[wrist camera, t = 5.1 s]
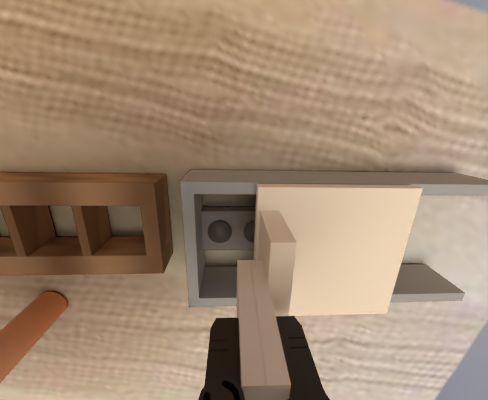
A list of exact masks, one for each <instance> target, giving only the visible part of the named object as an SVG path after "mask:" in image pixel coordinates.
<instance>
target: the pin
mask: <svg viewBox="0 0 488 400" xmlns="http://www.w3.org/2000/svg"><path fill="white" fill-rule="evenodd" d="M66 308H67V302H66V300H65V298H64V297H63V296H61V295H60V294H58V293H55V292H44V293H42V294H40V295H39V296H38V297H37V298H36V299H35V300H34V301H33V302H32V303H30V304H29V305H28V306H27V307H26V308H25V309H24V310H23V311H22V312H21V313H19V314H18V315H17V316H16V317H15V318H14V319H13V320H12V321H11V322H9V323H8V324H7V325H6V326H5V327H4V328H3V329H2V330H1V331H0V383H1V382H2V381H3V379H4V378H5V377H6V376H7V375H8V374H9V373H10V371H11V370H12V369H13V368H14V367H15V366H16V365H17V364H18V362H19V361H20V360H21V359H22V358H23V357H24V356H25V355H26V353H27V352H28V351H29V350H30V349H31V348H32V347H33V346H34V344H35V343H36V342H37V341H38V340H39V339H40V338H41V336H42V335H43V334H44V333H45V332H46V331H47V330H48V329H49V327H50V326H51V325H52V324H53V323H54V322H55V321H56V320H57V318H58V317H59V316H60V315H61V314H62V313H63V312H64V310H65V309H66Z"/></svg>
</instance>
